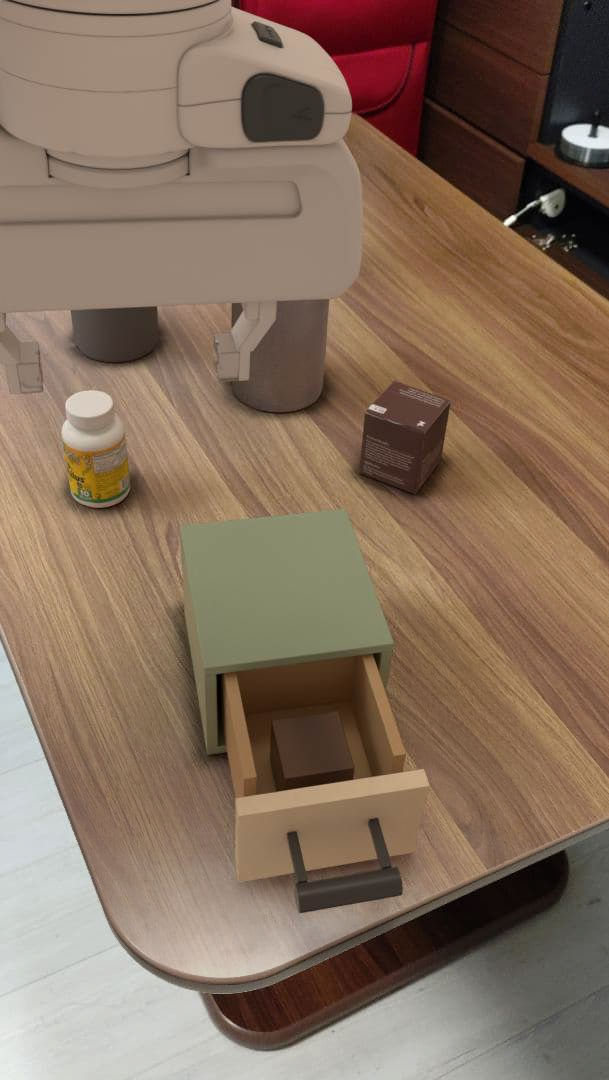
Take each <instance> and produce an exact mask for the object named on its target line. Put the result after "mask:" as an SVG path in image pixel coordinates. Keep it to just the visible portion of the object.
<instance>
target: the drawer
mask: <svg viewBox="0 0 609 1080" xmlns="http://www.w3.org/2000/svg"><path fill="white" fill-rule="evenodd" d="M220 701H221V720H222V726H223V732H224V737H225V743H226V749H227V752H226V753H227V759H228V766H229V770H230V776H231V783H232V786H233V787H232V788H233V794H234V805H235V806H234V807H235V809H234V810H235V811H234V814H235V815H234V817H235V820H234V821H235V825H234V826H235V827H234V828H235V829H234V830H235V831H234V832H235V833H234V835H235V836H234V838H235V839H234V840H235V841H234V843H235V848H234V849H235V871H236V877H237V882H238V883H244V882H245V883H246V882H249V881H250V882H251V881H256V880H260V879H261V880H262V879H267V878H273V877H279V876H284V875H290V874H294V877H295V882H296V883H295V884H294V886H293V891H294V892H293V893H294V900H295V905H296V909H297V913H298V914H299V915H300V914H301V915H302V914H306V913H310V912H316V911H322V910H323V911H324V910H328V909H333V908H334V909H335V908H339V907H345V906H351V905H355V904H356V905H357V904H361V903H362V904H363V903H366V902H367V903H368V902H372V901H377V900H383V899H389V898H394V897H395V898H396V897H400V896H403V892H404V888H403V880H402V876H401V871H400V870H399V868H398V866H393V865H392V862H391V857H395V856H401V855H402V856H403V855H406V854H407V855H408V854H413V853H414V852H415V848H416V845H417V844H416V843H417V840H418V835H419V831H420V827H421V823H422V820H423V815H424V811H425V807H426V803H427V799H428V794H429V790H430V788H431V787H430V783H429V779H428V777H427V773H426V770H425V769H424V768H422V769H421V768H420V769H415V770H409V771H404V766H405V761H406V756H407V753H406V749H405V745H404V744H403V740H402V738H401V735H400V732H399V731H400V730H399V729H398V726H397V723H396V720H395V719H396V718H395V716H394V713H393V710H392V708H391V704H390V701H389V698H388V696H387V691H386V692H385V689H384V686H383V683H382V680H381V677H380V674H379V671H378V668H377V665H376V662H375V659H374V656H373V653H372V654H365V655H357V656H350V657H342V658H334V659H327V660H319V661H312V662H304V663H297V664H289V665H282V666H274V667H267V668H259V669H251V670H244V671H236V672H229V673H221V674H220ZM332 711H339V714H340V717H341V721H342V724H343V728H344V731H345V735H346V739H347V742H348V746H349V749H350V753H351V756H352V760H353V763H354V767H355V770H354V776H353V780H350V781H344V782H337V783H331V784H324V785H318V786H312V787H305V788H299V789H292V790H286V791H280V792H277V791H276V787H275V782H274V777H273V772H272V768H271V763H270V742H271V721H272V720H276V719H283V718H290V717H297V716H304V715H311V714H318V713H325V712H332ZM372 860H377V861H378V865H379V867H380V868H378V869H373V870H368V871H367V870H366V871H362V872H355V873H350V874H349V873H348V874H344V875H339V876H332V877H326V878H321V879H315V880H310V881H309V880H308V875H307V872H309V871H314V870H320V869H325V868H326V869H327V868H333V867H337V866H342V865H343V866H344V865H349V864H355V863H361V862H367V861H372Z"/></svg>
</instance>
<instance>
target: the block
mask: <svg viewBox="0 0 609 1080" xmlns="http://www.w3.org/2000/svg"><path fill="white" fill-rule="evenodd" d="M270 763H271V768H272V772H273V777H274V782H275V787H276V791H277V792H280V791H286V790H292V789H299V788H305V787H312V786H318V785H324V784H331V783H337V782H344V781H350V780H353V776H354V770H355V767H354V763H353V760H352V756H351V753H350V749H349V746H348V742H347V739H346V735H345V731H344V728H343V724H342V721H341V717H340V714H339V711H332V712H325V713H318V714H311V715H304V716H297V717H290V718H283V719H276V720H272V721H271V742H270Z"/></svg>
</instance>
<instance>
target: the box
mask: <svg viewBox="0 0 609 1080" xmlns="http://www.w3.org/2000/svg"><path fill="white" fill-rule="evenodd" d="M451 402H452V400H451V399H447V398H445V397H443V396H439V395H436V394H433V393H431V392H428V391H424V390H422V389H419V388H417V387H414V386H410V385H408V384H405V383H403V382H400V381H397V380H393V381H392V382H391V383H390V384H389V385H388V387H386V388H385V390H384V391H382V393H381V394H380V395H379V396H378V398H376V400H375V401H373V403H372V404H371V405H370V406H369V407H368V408H367V409H366V411H364V417H363V426H362V427H363V428H362V442H361V451H360V462H359V474H360V475H364V476H366V477H369V478H371V479H374V480H377V481H379V482H383V483H385V484H387V485H390V486H393V487H395V488H398V489H400V490H403V491H405V492H408V493H411V494H413V495H416V494H417V493H418V491H419V490H420V489H421V487H423V485H424V484H425V483H426V481H427V480H428V479H429V478H430V476H431V475H432V474H433V472H434V470H435V469H436V468H437V467H438V465H439V464H440V463H441V462H442V456H443V450H444V445H445V439H446V434H447V433H446V432H447V426H448V421H449V416H450V409H451Z"/></svg>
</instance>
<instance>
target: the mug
mask: <svg viewBox="0 0 609 1080" xmlns="http://www.w3.org/2000/svg"><path fill="white" fill-rule="evenodd" d="M69 311H70V312H69V313H70V317H71V325H72V331H73V336H74V340H75V344H76V346H77V348H78V350H79V351H80V353H82V354H83V355H84V356H86V357H88V358H90V359H92V360H95V361H99V362H103V363H104V362H105V363H125V362H130V361H134V360H137V359H140V358H143V357H145V356H146V355H148V354H149V353H151V352H152V351H153V350H154V349H155V348H156V346H157V343H158V341H159V314H158V306H153V307H130V308H107V309H84V310H69Z"/></svg>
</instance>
